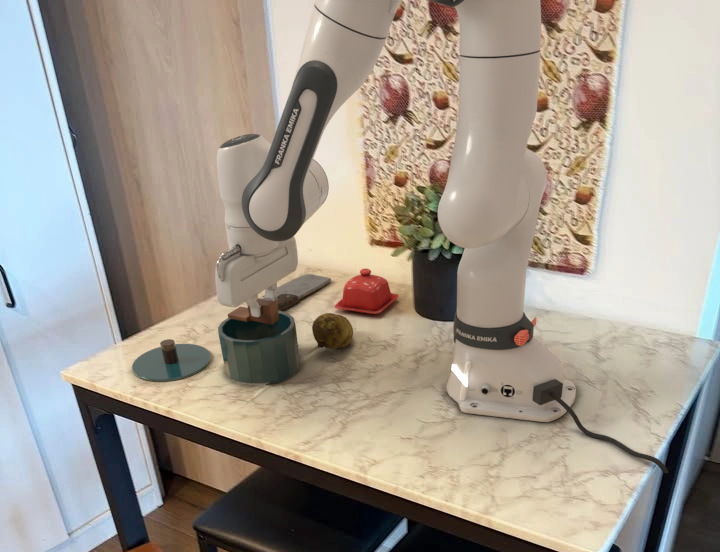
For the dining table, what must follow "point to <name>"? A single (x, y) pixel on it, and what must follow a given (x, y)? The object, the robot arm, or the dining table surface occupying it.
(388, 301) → the butter dish
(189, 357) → the lid
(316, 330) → the potato
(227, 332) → the pot
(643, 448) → the dining table surface
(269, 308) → the brown stepped bar
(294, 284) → the cleaver
